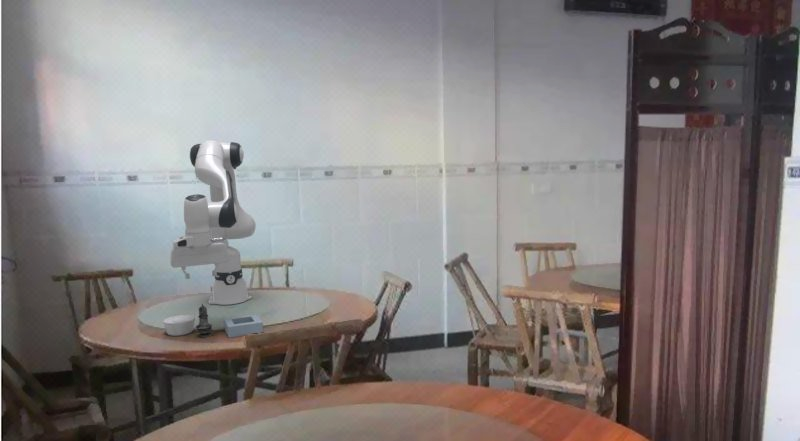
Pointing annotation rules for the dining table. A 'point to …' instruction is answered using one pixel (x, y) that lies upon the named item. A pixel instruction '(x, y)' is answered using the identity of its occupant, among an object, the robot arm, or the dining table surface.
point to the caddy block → (243, 325)
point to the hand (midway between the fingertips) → (201, 277)
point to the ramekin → (179, 325)
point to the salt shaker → (203, 323)
